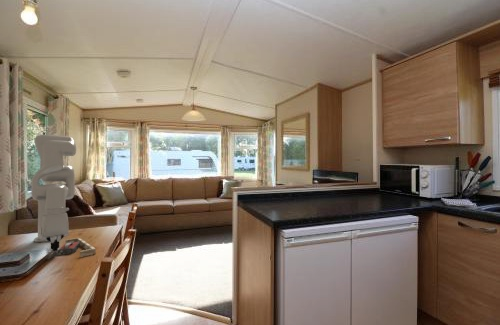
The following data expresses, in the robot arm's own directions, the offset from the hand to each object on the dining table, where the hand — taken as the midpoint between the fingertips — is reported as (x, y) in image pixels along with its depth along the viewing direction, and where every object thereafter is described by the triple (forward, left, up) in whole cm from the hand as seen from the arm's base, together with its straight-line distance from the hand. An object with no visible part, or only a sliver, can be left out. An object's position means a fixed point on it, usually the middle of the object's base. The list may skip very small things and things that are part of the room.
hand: (54, 250), depth 117 cm
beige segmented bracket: (0, +10, -2) cm, 10 cm away
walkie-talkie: (+1, +4, -3) cm, 5 cm away
